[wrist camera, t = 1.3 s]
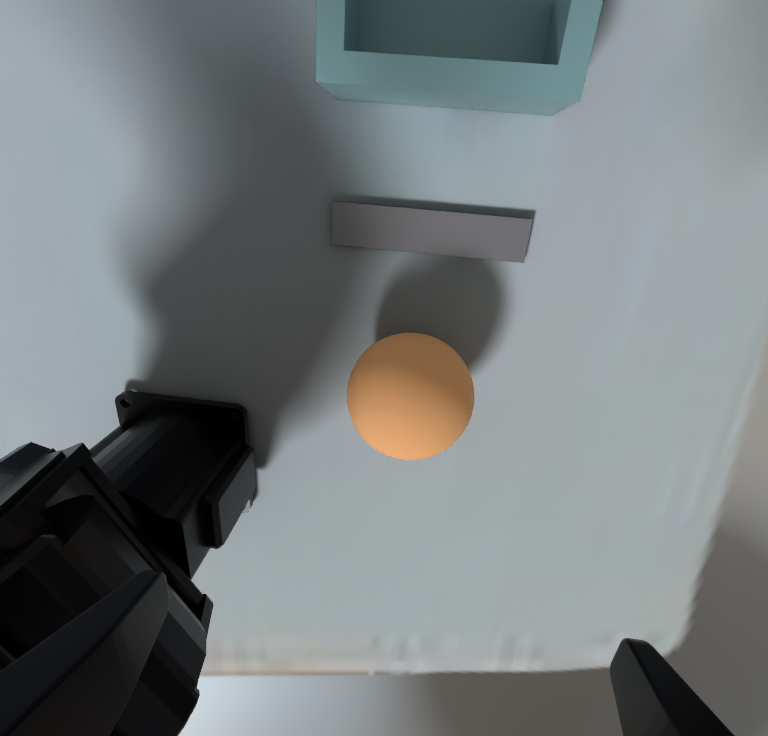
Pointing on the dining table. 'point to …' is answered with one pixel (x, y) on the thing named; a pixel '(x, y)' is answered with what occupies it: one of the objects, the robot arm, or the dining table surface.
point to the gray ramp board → (430, 231)
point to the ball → (410, 396)
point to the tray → (457, 52)
